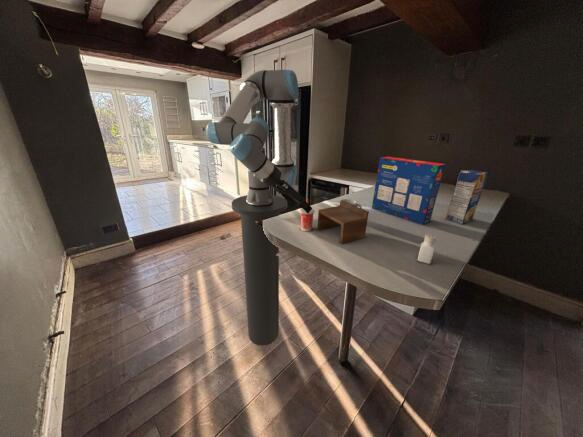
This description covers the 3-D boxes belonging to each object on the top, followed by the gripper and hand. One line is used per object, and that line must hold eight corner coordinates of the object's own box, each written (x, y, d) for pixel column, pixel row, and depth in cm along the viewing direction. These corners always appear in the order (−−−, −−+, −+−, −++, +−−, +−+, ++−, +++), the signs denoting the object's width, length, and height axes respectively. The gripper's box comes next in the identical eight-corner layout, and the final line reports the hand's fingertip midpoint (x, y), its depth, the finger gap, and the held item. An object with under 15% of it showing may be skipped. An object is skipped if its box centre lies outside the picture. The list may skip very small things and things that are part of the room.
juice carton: (456, 214, 124) (470, 169, 115) (472, 219, 118) (488, 172, 109) (445, 219, 118) (459, 172, 109) (461, 224, 112) (478, 175, 103)
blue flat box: (430, 221, 115) (445, 164, 104) (422, 224, 110) (438, 165, 99) (379, 205, 135) (388, 156, 124) (371, 208, 130) (380, 157, 120)
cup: (359, 214, 120) (362, 200, 117) (360, 220, 113) (363, 205, 110) (338, 212, 122) (340, 198, 119) (338, 218, 115) (340, 203, 112)
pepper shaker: (417, 261, 80) (423, 236, 77) (418, 256, 84) (424, 232, 80) (430, 265, 78) (437, 240, 75) (430, 259, 82) (437, 235, 78)
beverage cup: (297, 227, 104) (298, 197, 99) (309, 225, 106) (311, 196, 101) (302, 232, 99) (304, 201, 94) (315, 230, 101) (317, 200, 96)
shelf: (317, 228, 103) (318, 204, 99) (339, 223, 110) (341, 200, 105) (341, 244, 91) (344, 217, 86) (364, 236, 97) (369, 211, 93)
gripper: (248, 173, 93) (280, 203, 106) (276, 188, 73) (312, 223, 86) (259, 159, 94) (290, 191, 107) (291, 170, 74) (324, 207, 87)
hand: (300, 205), depth 96 cm, fingers open, 13 cm apart
